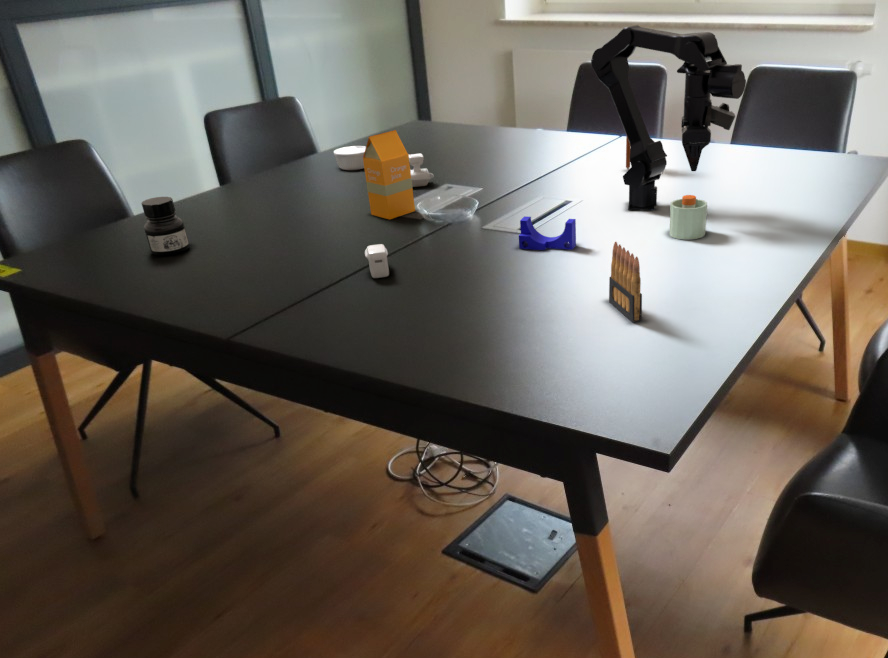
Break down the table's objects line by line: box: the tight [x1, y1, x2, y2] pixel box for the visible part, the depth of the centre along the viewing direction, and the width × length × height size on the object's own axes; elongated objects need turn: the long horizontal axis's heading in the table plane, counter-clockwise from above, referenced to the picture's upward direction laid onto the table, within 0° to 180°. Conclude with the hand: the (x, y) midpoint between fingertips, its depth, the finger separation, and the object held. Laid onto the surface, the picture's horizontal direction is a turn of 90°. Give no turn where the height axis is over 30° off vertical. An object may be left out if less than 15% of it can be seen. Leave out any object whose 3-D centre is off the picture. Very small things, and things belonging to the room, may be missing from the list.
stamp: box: [408, 153, 435, 188], centre depth 233 cm, size 9×7×8 cm
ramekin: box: [333, 145, 366, 171], centre depth 257 cm, size 11×11×5 cm
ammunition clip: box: [608, 240, 643, 323], centre depth 149 cm, size 11×2×12 cm, turn 18°
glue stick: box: [681, 194, 697, 208], centre depth 185 cm, size 3×3×8 cm
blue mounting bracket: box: [518, 216, 577, 251], centre depth 183 cm, size 12×4×6 cm, turn 71°
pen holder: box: [668, 198, 708, 241], centre depth 185 cm, size 8×8×7 cm
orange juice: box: [363, 129, 416, 220], centre depth 208 cm, size 8×9×20 cm
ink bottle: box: [140, 196, 190, 257], centre depth 194 cm, size 10×9×12 cm
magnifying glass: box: [625, 135, 631, 172], centre depth 231 cm, size 9×2×20 cm, turn 12°
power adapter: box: [364, 243, 390, 279], centre depth 176 cm, size 11×5×6 cm, turn 13°
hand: (693, 166), depth 192 cm, fingers open, 9 cm apart
